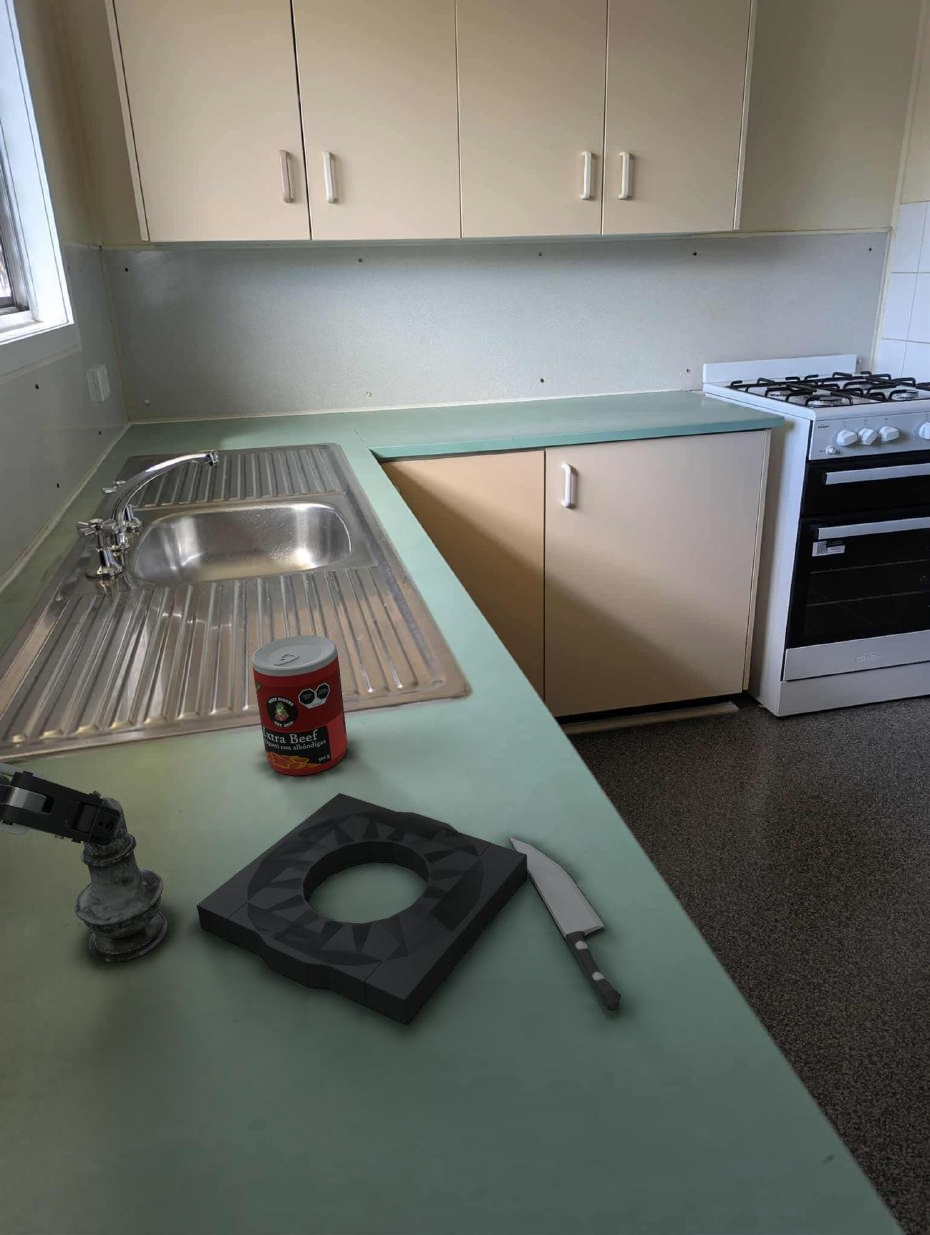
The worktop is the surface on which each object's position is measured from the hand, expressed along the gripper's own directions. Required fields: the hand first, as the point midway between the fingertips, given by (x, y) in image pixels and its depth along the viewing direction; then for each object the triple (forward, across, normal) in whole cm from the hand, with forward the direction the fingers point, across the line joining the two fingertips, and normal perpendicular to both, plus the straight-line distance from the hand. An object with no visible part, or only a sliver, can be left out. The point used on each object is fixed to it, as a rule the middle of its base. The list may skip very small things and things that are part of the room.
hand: (58, 816), depth 55 cm
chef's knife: (+19, +29, +2) cm, 35 cm away
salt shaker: (+11, 0, -6) cm, 13 cm away
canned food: (+29, -1, +12) cm, 31 cm away
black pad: (+17, +15, 0) cm, 22 cm away
